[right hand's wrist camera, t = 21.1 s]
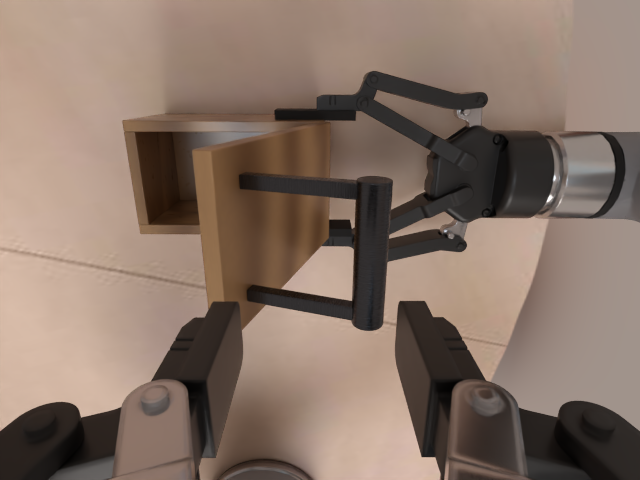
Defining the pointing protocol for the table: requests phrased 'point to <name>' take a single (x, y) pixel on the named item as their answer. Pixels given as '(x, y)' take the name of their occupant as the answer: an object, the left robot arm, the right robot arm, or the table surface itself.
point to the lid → (286, 223)
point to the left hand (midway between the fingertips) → (278, 173)
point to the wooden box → (181, 161)
